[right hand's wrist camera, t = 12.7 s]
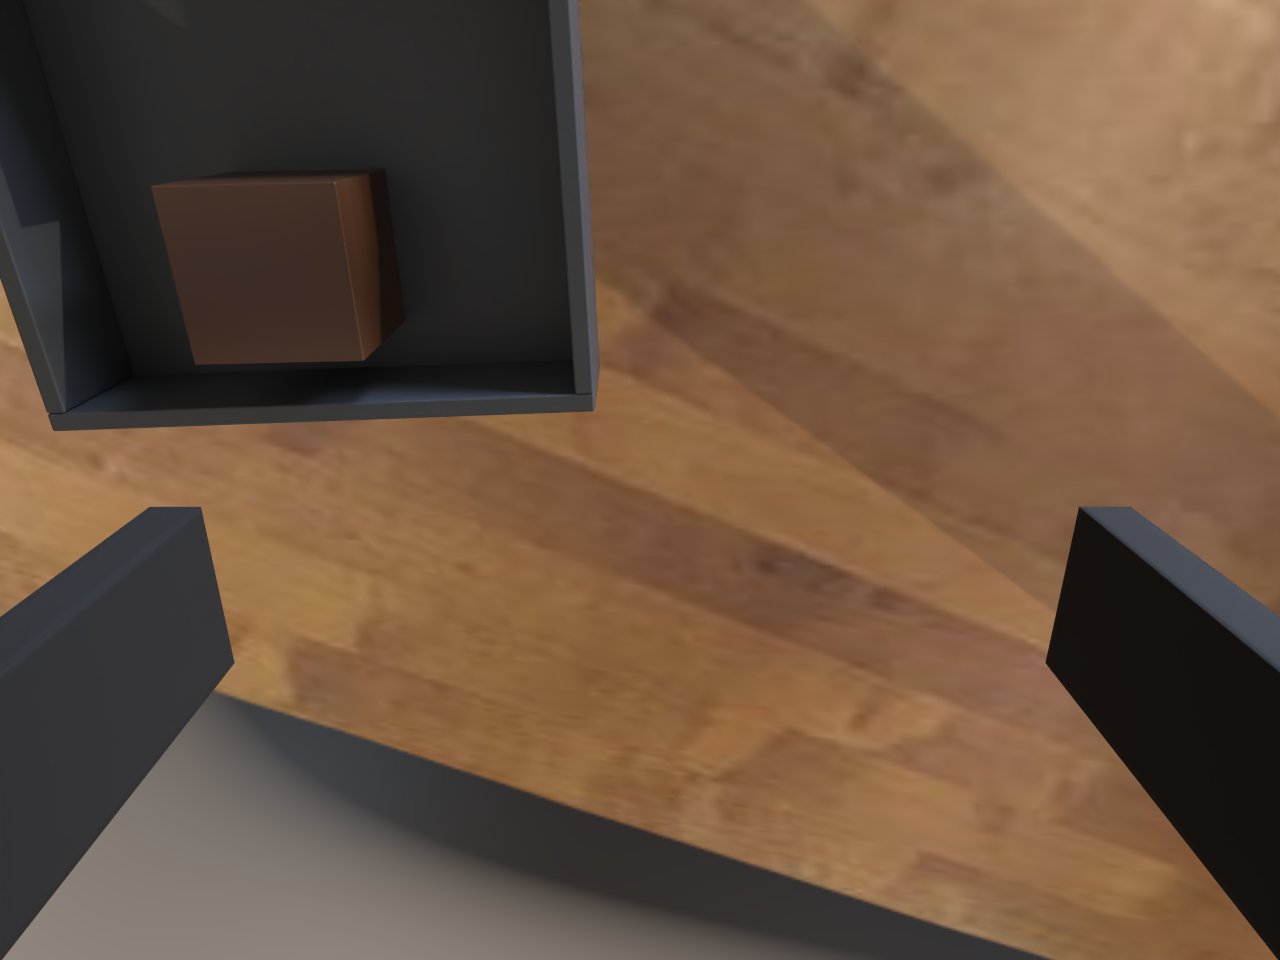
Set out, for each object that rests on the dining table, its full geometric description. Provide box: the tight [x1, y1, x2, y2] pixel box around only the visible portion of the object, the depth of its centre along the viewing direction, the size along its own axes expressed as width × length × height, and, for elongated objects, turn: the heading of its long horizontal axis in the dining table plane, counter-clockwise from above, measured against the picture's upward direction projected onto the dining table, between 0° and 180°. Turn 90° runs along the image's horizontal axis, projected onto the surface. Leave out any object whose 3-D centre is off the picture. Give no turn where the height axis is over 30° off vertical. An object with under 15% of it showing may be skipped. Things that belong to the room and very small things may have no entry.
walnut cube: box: [151, 168, 405, 365], centre depth 26 cm, size 5×5×5 cm
